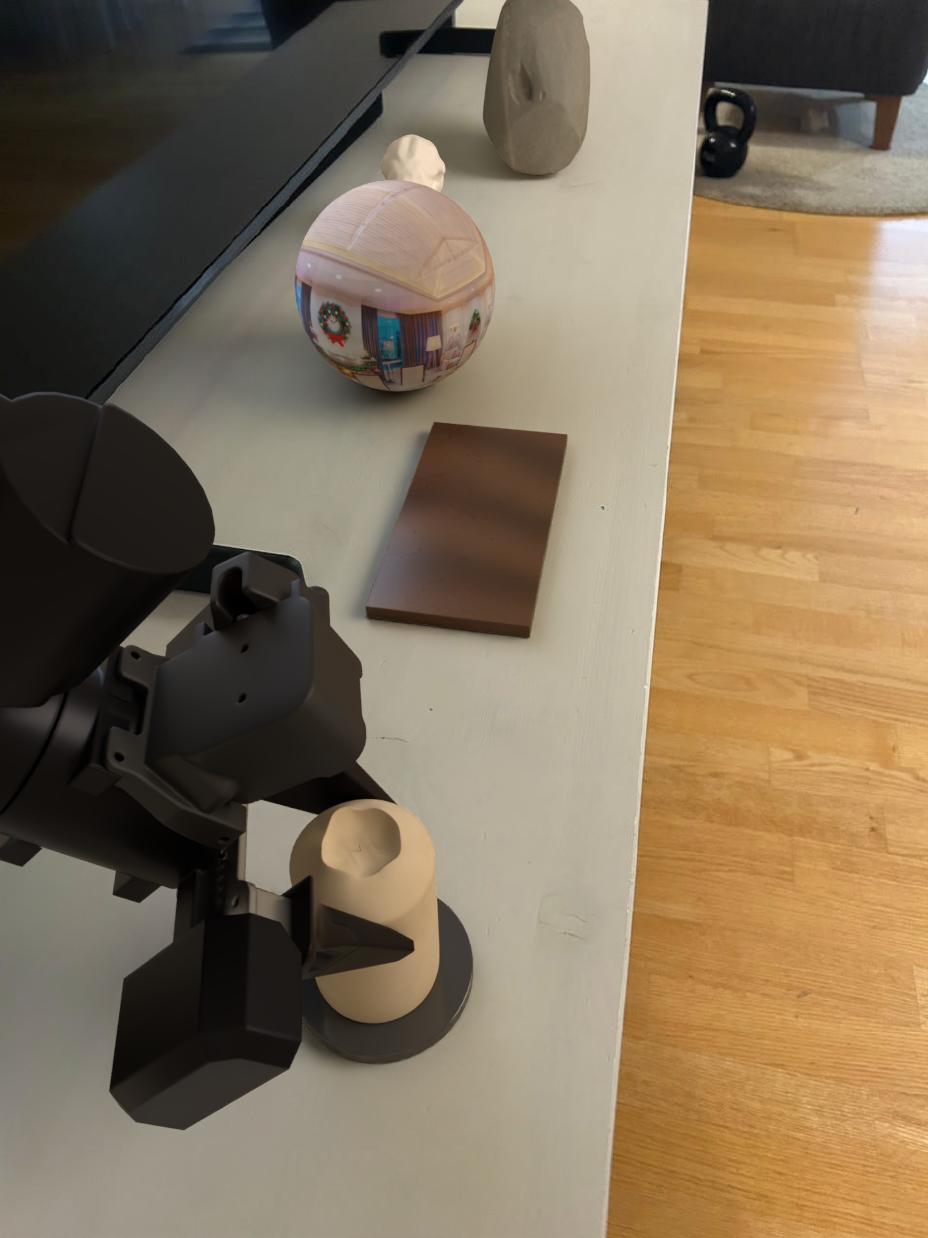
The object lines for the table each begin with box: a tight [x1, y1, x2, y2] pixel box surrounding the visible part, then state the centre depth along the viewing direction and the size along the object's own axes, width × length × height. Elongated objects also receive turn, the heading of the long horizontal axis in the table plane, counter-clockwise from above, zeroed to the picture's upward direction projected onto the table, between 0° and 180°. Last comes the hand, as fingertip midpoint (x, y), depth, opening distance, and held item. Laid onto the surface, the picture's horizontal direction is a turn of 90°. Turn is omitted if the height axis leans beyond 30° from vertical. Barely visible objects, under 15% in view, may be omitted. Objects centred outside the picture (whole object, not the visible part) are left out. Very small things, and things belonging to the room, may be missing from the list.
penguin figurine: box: [379, 133, 446, 193], centre depth 94 cm, size 6×8×12 cm
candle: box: [288, 799, 439, 1023], centre depth 39 cm, size 6×6×10 cm
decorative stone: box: [482, 0, 591, 176], centre depth 107 cm, size 12×17×15 cm
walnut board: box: [365, 421, 569, 639], centre depth 65 cm, size 20×10×1 cm, turn 169°
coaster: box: [302, 897, 474, 1064], centre depth 43 cm, size 8×8×1 cm
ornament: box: [294, 179, 496, 392], centre depth 74 cm, size 15×15×15 cm
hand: (401, 883), depth 38 cm, fingers closed on candle, 5 cm apart
